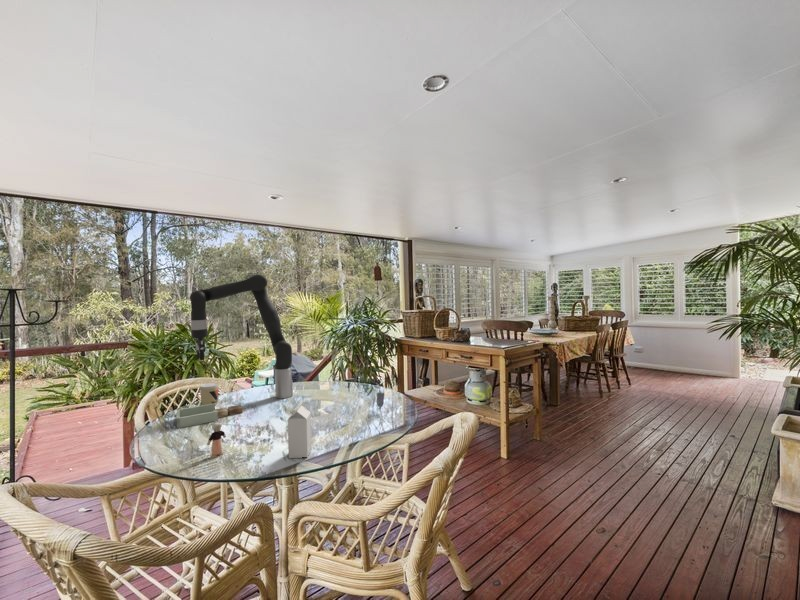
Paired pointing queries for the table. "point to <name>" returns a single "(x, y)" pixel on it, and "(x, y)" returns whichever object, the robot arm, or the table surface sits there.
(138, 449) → the table surface
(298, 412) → the milk carton
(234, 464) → the table surface
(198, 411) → the grey-green tray
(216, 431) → the grandmother figurine
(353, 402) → the table surface
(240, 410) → the walnut tile
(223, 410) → the oak tile
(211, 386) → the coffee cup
